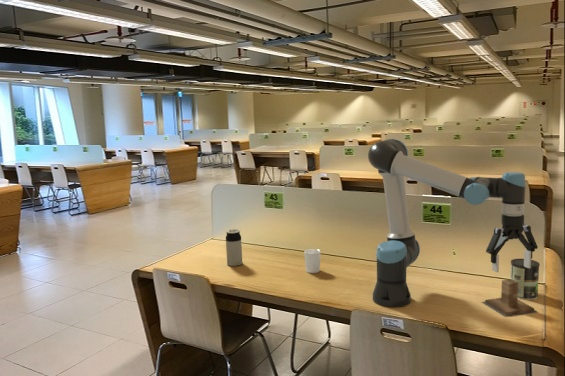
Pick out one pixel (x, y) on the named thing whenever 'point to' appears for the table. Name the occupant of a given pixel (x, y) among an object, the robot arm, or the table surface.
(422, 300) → the table surface
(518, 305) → the lid
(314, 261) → the white cup
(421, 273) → the table surface
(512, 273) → the coffee can
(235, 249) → the travel mug
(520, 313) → the mat
